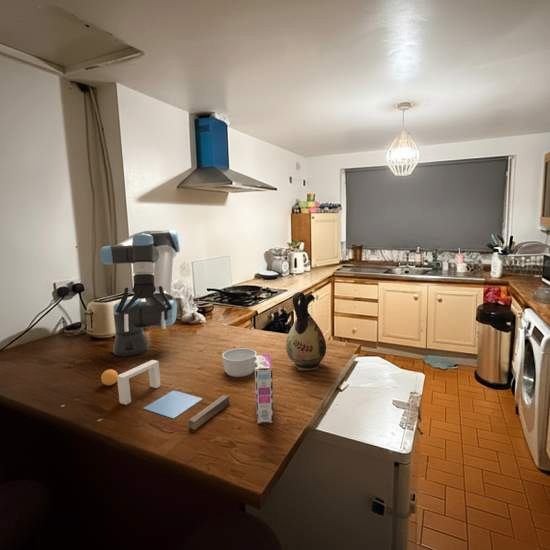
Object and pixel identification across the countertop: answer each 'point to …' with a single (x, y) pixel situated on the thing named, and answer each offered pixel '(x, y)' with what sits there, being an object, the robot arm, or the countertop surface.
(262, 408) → the candy bar box
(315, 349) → the ceramic jug
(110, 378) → the ball
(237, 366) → the ramekin
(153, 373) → the bridge
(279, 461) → the countertop surface
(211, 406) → the stopper
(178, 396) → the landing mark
